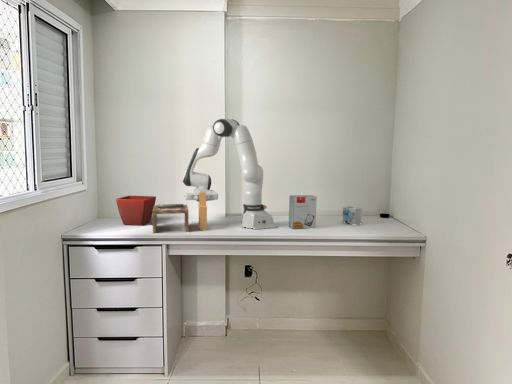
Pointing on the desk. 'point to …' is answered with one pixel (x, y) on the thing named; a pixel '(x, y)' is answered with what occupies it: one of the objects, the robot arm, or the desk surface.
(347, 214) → the light bulb box
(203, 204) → the tall tan upright block
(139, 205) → the plant pot
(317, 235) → the desk surface
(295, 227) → the hard drive box
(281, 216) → the desk surface
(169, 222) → the desk surface
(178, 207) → the tan rectangular frame
